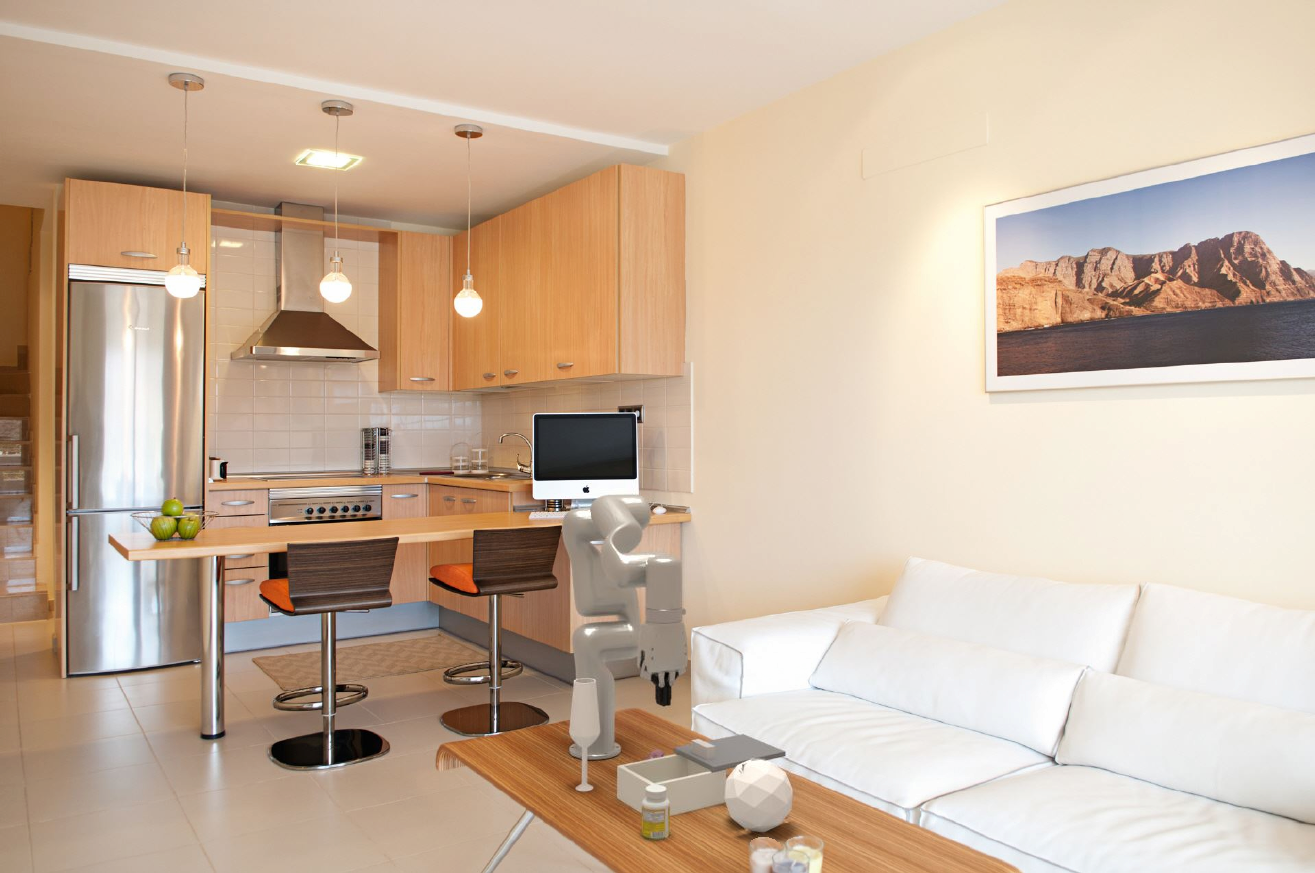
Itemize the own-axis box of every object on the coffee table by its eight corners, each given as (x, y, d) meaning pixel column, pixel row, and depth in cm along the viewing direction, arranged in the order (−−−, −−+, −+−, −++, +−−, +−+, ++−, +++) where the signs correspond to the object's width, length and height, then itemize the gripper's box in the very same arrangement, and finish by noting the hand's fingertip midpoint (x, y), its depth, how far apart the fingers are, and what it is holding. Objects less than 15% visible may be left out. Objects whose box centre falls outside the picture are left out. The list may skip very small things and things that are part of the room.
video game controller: (649, 791, 206) (663, 763, 206) (631, 780, 207) (644, 753, 207) (657, 776, 216) (670, 749, 216) (640, 766, 217) (653, 739, 216)
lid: (673, 752, 203) (673, 736, 203) (743, 738, 213) (743, 722, 213) (713, 771, 191) (713, 754, 191) (785, 756, 201) (785, 739, 201)
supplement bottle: (657, 847, 173) (657, 795, 173) (635, 839, 176) (635, 788, 176) (675, 838, 177) (675, 787, 177) (654, 831, 180) (654, 781, 180)
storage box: (617, 802, 195) (617, 765, 195) (688, 786, 205) (688, 751, 205) (652, 825, 183) (652, 785, 183) (726, 806, 193) (726, 769, 193)
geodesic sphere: (754, 822, 170) (780, 752, 176) (697, 803, 179) (724, 737, 186) (790, 851, 178) (814, 783, 184) (734, 831, 187) (759, 767, 194)
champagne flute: (576, 785, 205) (577, 676, 206) (604, 789, 203) (605, 678, 204) (563, 795, 199) (564, 683, 200) (592, 799, 197) (592, 685, 197)
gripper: (683, 610, 201) (683, 695, 200) (623, 616, 193) (623, 705, 192) (703, 615, 194) (703, 703, 194) (642, 622, 187) (641, 714, 186)
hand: (663, 704), depth 193 cm, fingers closed
